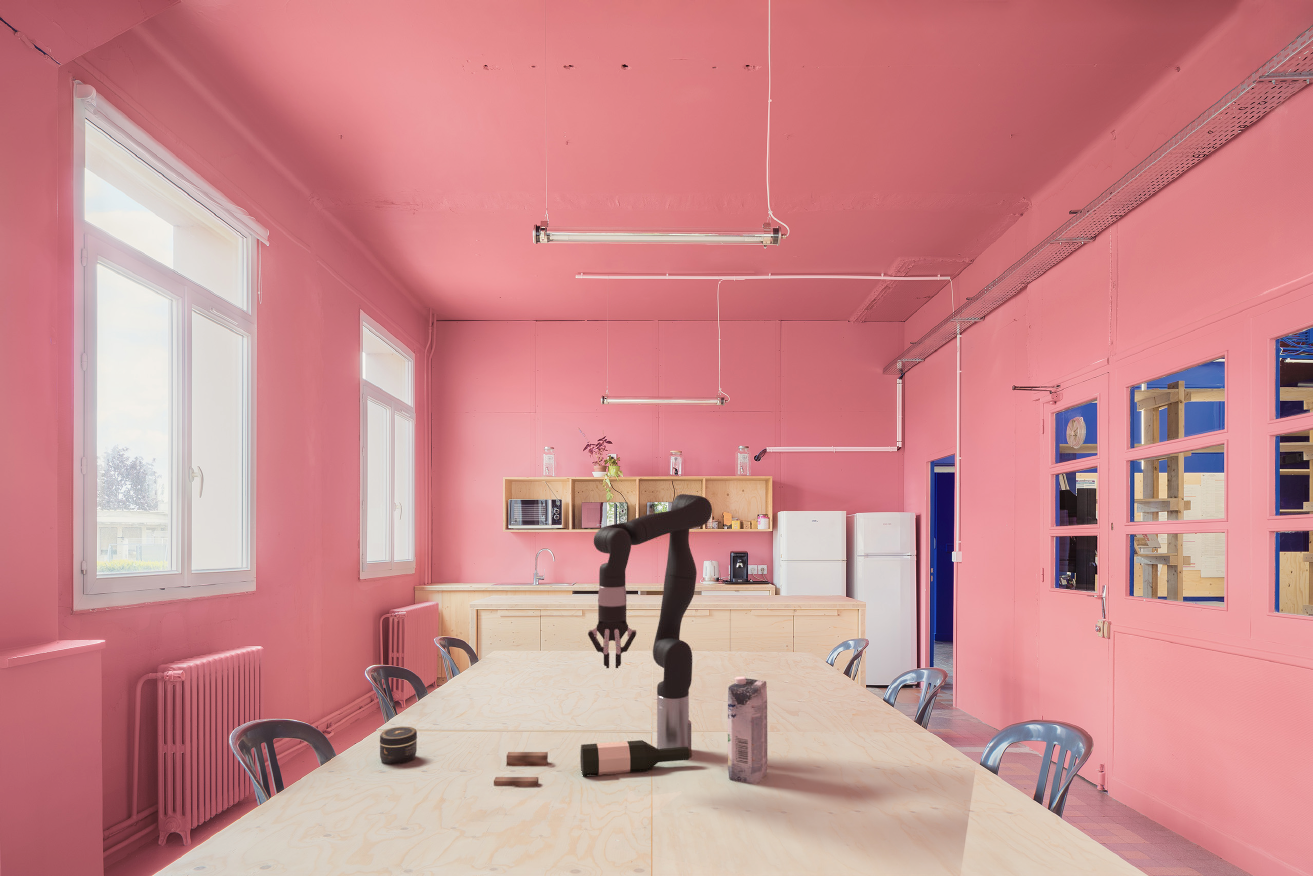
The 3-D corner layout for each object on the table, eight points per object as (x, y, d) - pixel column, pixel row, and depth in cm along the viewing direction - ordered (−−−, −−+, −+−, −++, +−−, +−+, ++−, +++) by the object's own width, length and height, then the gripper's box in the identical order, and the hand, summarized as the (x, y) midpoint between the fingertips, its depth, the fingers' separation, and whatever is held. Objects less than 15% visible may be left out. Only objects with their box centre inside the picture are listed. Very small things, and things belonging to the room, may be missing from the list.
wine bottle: (583, 778, 196) (695, 769, 202) (582, 744, 200) (692, 736, 205) (581, 778, 204) (689, 769, 210) (579, 745, 207) (686, 737, 213)
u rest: (547, 762, 210) (547, 752, 210) (537, 793, 192) (537, 781, 192) (508, 762, 210) (508, 752, 210) (493, 793, 192) (493, 781, 192)
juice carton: (770, 777, 201) (769, 675, 202) (758, 793, 191) (757, 685, 192) (738, 771, 205) (737, 671, 205) (725, 786, 195) (724, 681, 196)
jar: (371, 763, 210) (371, 735, 210) (396, 750, 219) (396, 724, 220) (400, 769, 206) (400, 740, 207) (424, 755, 216) (424, 728, 216)
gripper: (638, 599, 206) (638, 663, 205) (587, 599, 206) (587, 663, 205) (637, 605, 198) (637, 671, 198) (585, 605, 198) (585, 671, 198)
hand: (612, 667), depth 202 cm, fingers closed
